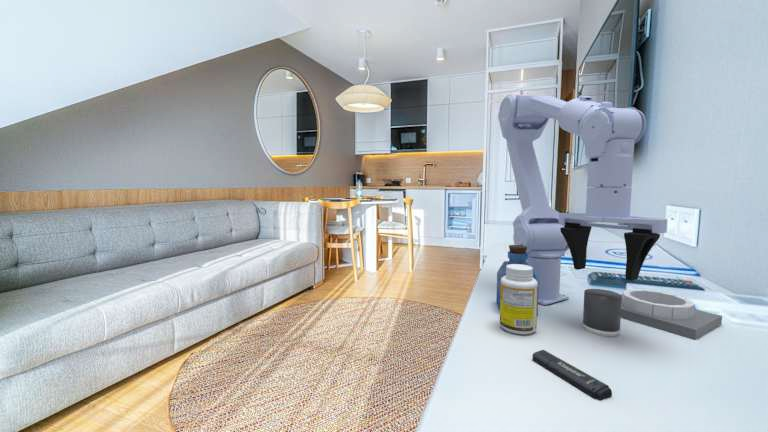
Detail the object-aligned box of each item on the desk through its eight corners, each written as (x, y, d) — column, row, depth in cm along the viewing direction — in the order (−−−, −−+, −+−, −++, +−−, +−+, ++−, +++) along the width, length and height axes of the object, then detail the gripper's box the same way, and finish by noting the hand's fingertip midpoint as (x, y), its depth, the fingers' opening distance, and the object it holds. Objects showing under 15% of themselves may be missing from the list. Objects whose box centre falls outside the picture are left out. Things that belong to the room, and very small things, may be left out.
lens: (576, 327, 54) (577, 291, 53) (592, 321, 56) (594, 287, 56) (609, 339, 50) (611, 300, 49) (626, 332, 52) (628, 295, 52)
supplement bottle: (513, 319, 57) (515, 261, 56) (543, 330, 53) (546, 267, 52) (492, 326, 54) (493, 265, 53) (522, 339, 50) (524, 272, 49)
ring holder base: (596, 310, 61) (597, 291, 61) (626, 300, 67) (627, 283, 67) (695, 339, 49) (697, 317, 49) (721, 324, 55) (723, 304, 55)
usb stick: (529, 361, 44) (529, 350, 44) (544, 358, 45) (544, 347, 45) (597, 405, 35) (598, 391, 35) (614, 399, 36) (615, 386, 36)
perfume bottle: (537, 316, 59) (540, 249, 58) (500, 314, 60) (502, 248, 59) (529, 304, 65) (531, 244, 64) (496, 302, 66) (498, 243, 65)
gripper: (549, 187, 55) (546, 267, 56) (653, 187, 43) (646, 289, 44) (573, 187, 59) (570, 262, 60) (676, 187, 46) (669, 282, 47)
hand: (604, 273), depth 52 cm, fingers open, 7 cm apart
